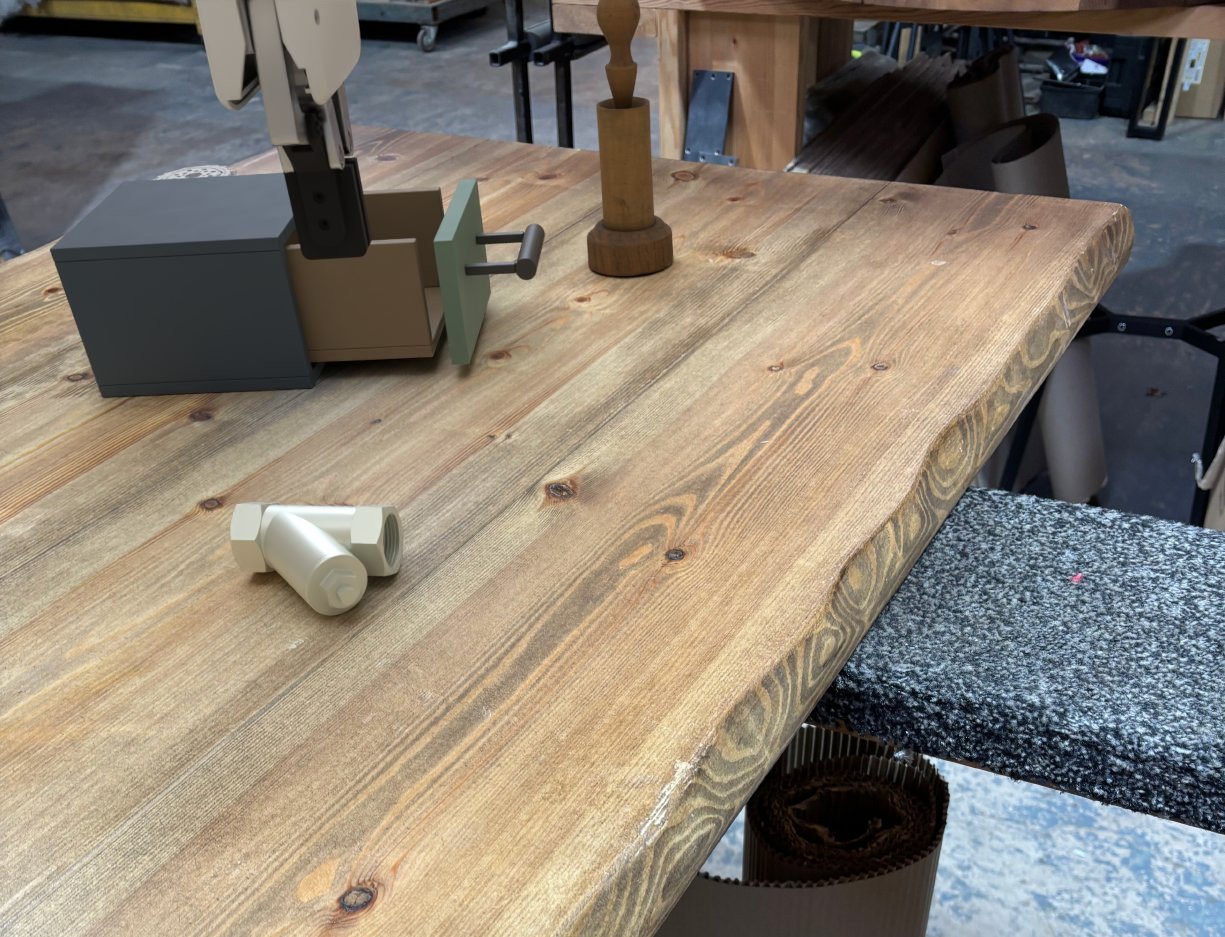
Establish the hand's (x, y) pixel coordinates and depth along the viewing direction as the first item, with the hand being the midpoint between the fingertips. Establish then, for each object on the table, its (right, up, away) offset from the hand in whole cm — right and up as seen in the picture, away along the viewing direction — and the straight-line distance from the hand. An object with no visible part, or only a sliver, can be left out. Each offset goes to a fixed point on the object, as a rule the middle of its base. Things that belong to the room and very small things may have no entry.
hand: (338, 252), depth 60 cm
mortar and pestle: (+15, +15, +36) cm, 42 cm away
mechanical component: (-22, +24, +49) cm, 59 cm away
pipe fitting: (-2, -16, +3) cm, 17 cm away
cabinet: (-14, +6, +27) cm, 31 cm away
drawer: (0, +6, +26) cm, 27 cm away
